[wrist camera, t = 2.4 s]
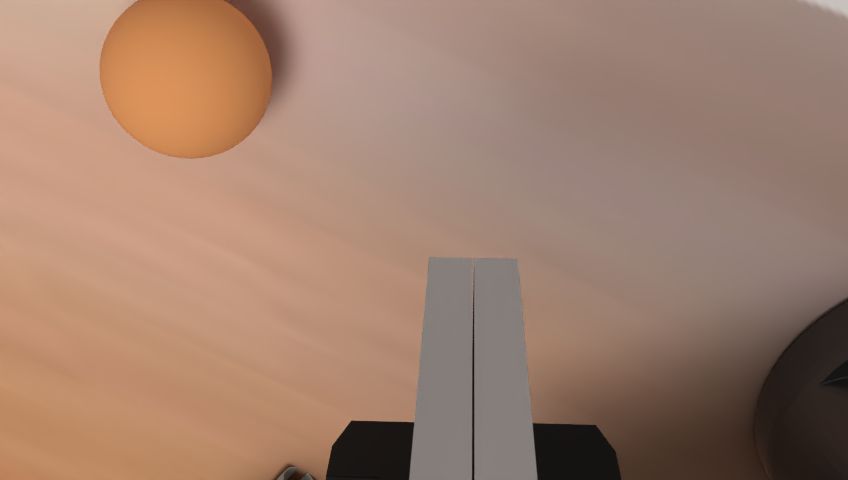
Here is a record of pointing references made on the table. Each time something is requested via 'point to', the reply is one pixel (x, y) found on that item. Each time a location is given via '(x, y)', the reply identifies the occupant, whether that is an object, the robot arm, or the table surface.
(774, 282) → the table surface
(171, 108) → the ball
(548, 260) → the table surface
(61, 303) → the table surface
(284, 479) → the folded metal stand
